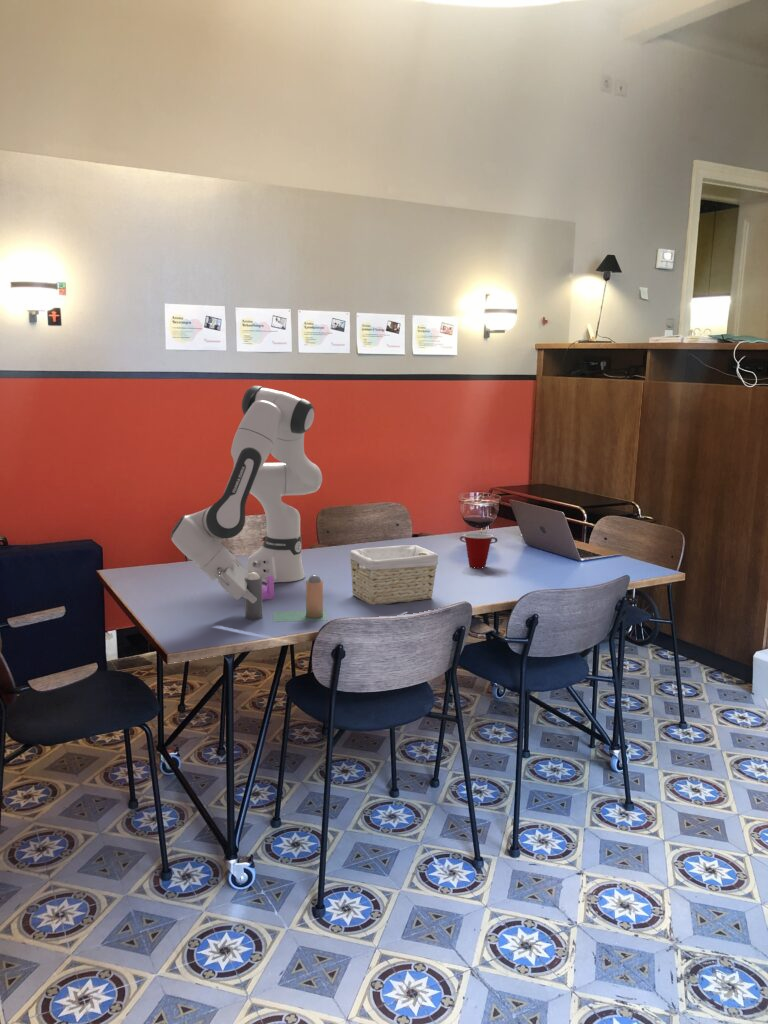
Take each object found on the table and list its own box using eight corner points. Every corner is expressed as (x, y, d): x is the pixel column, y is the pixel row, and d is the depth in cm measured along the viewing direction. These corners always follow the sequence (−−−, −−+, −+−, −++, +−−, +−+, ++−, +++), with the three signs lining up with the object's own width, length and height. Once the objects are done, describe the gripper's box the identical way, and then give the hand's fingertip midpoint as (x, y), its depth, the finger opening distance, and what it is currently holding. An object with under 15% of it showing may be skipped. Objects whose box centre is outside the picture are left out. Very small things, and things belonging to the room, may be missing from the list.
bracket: (274, 599, 241) (273, 577, 240) (256, 600, 239) (255, 578, 238) (264, 588, 253) (264, 567, 252) (247, 589, 251) (247, 568, 250)
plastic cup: (489, 562, 290) (491, 531, 288) (494, 570, 279) (495, 537, 277) (460, 562, 289) (461, 530, 287) (464, 570, 279) (465, 537, 277)
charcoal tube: (241, 620, 220) (240, 572, 217) (252, 616, 224) (251, 569, 221) (255, 623, 217) (254, 575, 215) (266, 618, 222) (265, 571, 219)
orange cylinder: (302, 616, 222) (302, 575, 220) (311, 612, 226) (311, 572, 224) (317, 619, 219) (317, 578, 217) (326, 614, 224) (326, 574, 222)
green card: (273, 624, 217) (273, 621, 217) (273, 614, 226) (273, 611, 226) (327, 623, 219) (327, 620, 219) (325, 613, 228) (325, 610, 227)
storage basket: (414, 586, 257) (415, 542, 254) (439, 600, 243) (440, 553, 240) (347, 595, 247) (347, 549, 244) (369, 609, 232) (369, 560, 230)
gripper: (224, 565, 206) (262, 600, 209) (230, 548, 226) (264, 580, 229) (207, 582, 207) (246, 617, 210) (214, 563, 227) (249, 595, 230)
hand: (255, 597), depth 220 cm, fingers closed on charcoal tube, 5 cm apart
